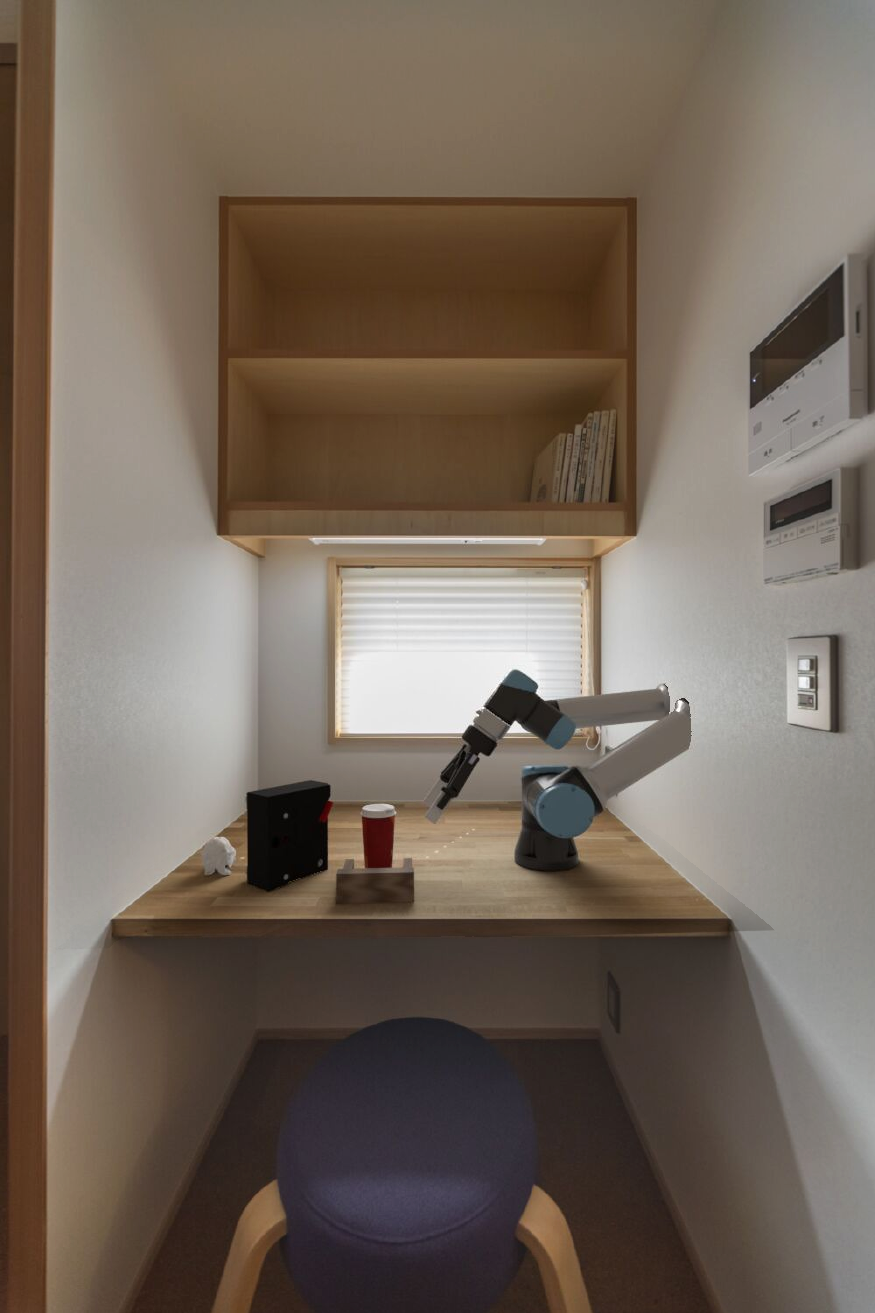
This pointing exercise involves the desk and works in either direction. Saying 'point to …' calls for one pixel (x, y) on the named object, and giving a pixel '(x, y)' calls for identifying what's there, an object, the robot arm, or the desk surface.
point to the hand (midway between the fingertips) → (428, 812)
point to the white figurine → (218, 856)
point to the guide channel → (375, 884)
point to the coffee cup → (378, 835)
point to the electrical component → (287, 833)
